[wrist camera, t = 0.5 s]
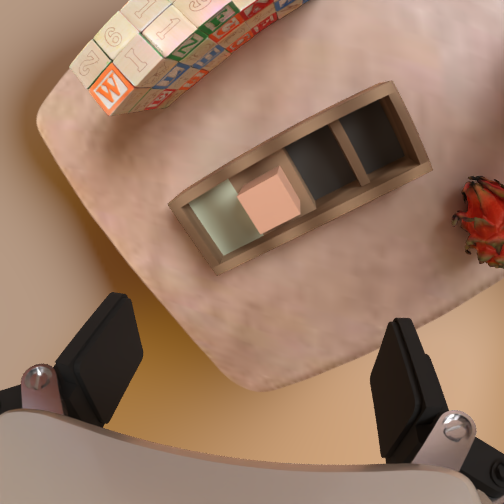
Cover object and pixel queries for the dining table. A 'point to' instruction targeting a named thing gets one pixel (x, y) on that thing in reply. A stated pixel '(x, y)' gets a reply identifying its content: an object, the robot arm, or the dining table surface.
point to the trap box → (307, 175)
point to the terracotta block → (269, 200)
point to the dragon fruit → (484, 220)
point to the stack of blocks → (167, 48)
